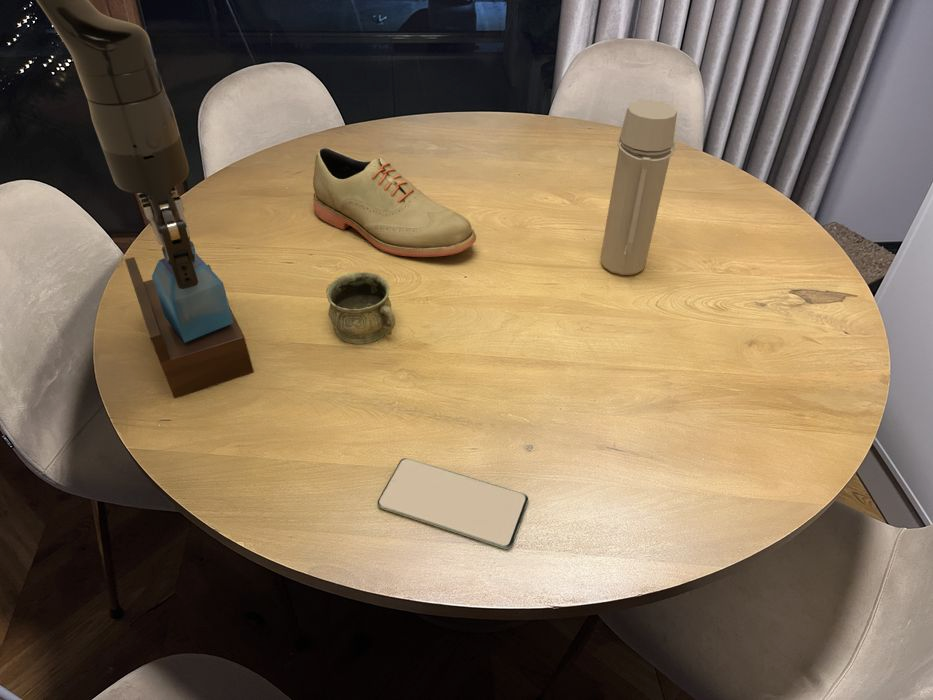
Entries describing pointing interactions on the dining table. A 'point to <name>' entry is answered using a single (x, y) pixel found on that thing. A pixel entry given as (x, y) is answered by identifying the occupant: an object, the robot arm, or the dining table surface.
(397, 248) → the oxford shoe
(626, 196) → the water bottle
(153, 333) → the wooden display stand
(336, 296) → the vessel
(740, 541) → the dining table surface
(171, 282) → the perfume bottle
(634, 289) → the dining table surface
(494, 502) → the smartphone
